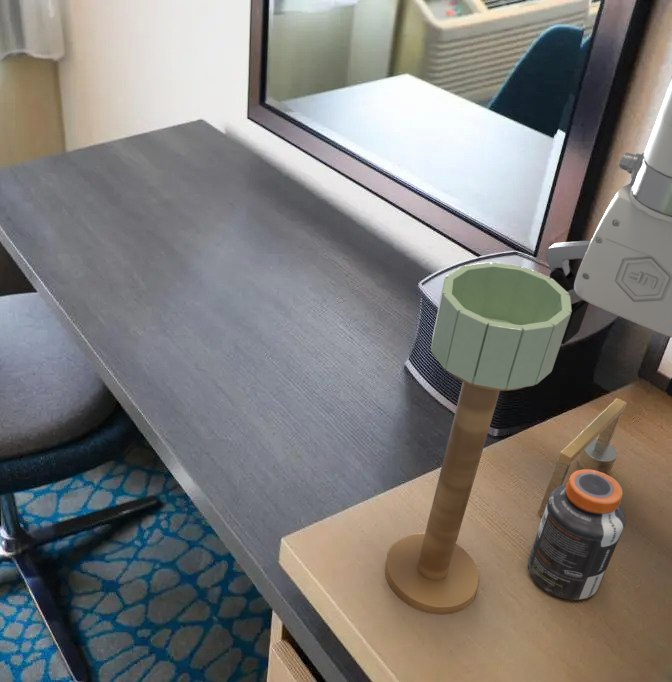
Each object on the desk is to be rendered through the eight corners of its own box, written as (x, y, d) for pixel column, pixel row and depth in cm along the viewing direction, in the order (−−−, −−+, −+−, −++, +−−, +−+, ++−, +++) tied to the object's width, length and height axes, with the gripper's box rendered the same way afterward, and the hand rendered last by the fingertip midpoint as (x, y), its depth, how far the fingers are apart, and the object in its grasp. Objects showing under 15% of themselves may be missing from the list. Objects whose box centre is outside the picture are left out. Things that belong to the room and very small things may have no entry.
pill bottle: (612, 599, 68) (653, 508, 62) (546, 605, 68) (580, 514, 62) (576, 545, 73) (611, 456, 67) (515, 551, 73) (543, 462, 66)
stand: (494, 579, 71) (573, 353, 55) (442, 632, 67) (512, 405, 51) (418, 527, 76) (471, 307, 60) (366, 574, 72) (408, 351, 56)
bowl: (573, 353, 55) (594, 294, 52) (512, 405, 51) (530, 345, 48) (471, 307, 60) (485, 250, 57) (408, 351, 56) (419, 293, 53)
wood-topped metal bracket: (586, 447, 83) (611, 387, 78) (617, 464, 81) (644, 402, 76) (526, 507, 77) (548, 445, 72) (557, 526, 75) (582, 464, 70)
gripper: (555, 167, 62) (506, 336, 73) (806, 247, 52) (706, 432, 62) (600, 139, 66) (547, 304, 77) (843, 209, 55) (743, 389, 66)
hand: (618, 361), depth 69 cm, fingers open, 9 cm apart
